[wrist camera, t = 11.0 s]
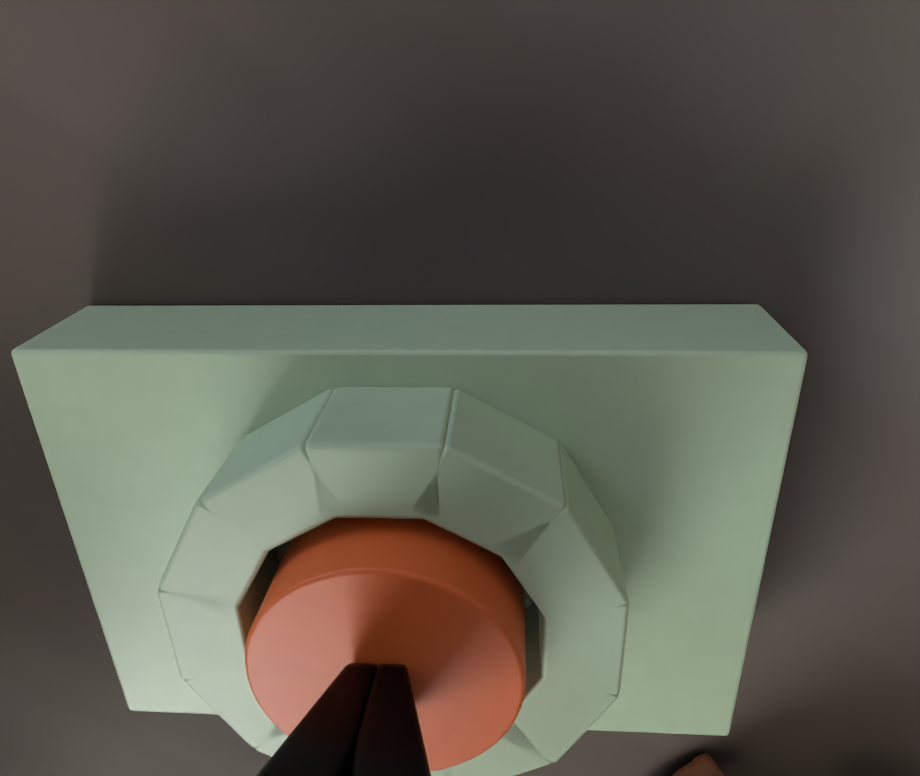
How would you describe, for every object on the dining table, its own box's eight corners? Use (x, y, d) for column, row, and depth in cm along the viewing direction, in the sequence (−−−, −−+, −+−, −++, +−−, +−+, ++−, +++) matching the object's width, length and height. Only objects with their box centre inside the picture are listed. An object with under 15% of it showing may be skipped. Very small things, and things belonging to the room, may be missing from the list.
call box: (175, 631, 16) (77, 797, 12) (86, 303, 13) (-85, 402, 9) (701, 649, 15) (760, 833, 12) (760, 302, 12) (871, 410, 8)
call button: (297, 679, 12) (265, 770, 11) (264, 489, 11) (220, 565, 9) (522, 686, 12) (524, 782, 10) (525, 494, 10) (529, 573, 9)
